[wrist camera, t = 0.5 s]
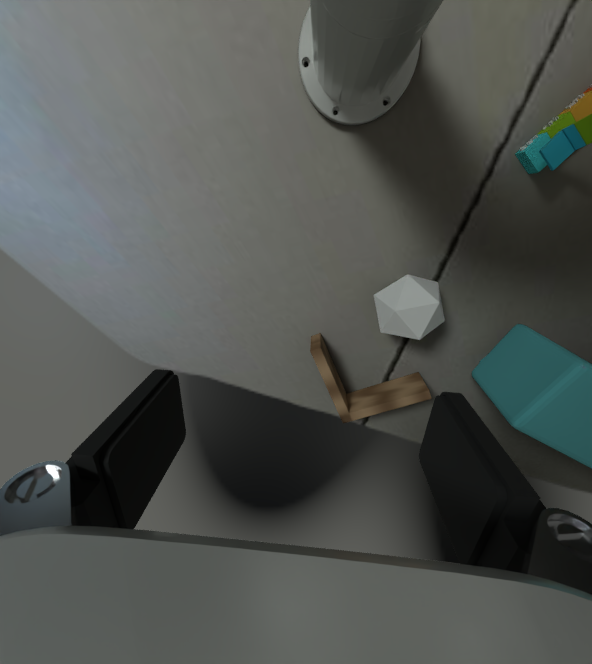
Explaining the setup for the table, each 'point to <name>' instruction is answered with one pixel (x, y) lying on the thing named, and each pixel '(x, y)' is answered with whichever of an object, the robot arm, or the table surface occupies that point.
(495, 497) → the robot arm
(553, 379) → the radio
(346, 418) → the bracket
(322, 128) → the table surface
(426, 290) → the die
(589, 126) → the chart
